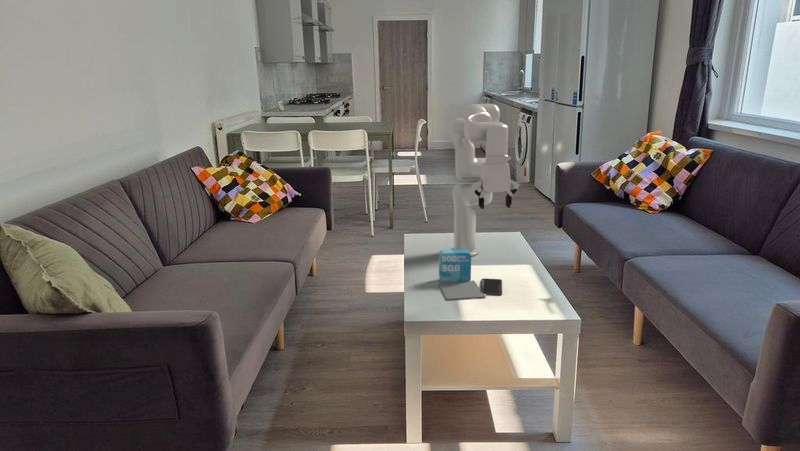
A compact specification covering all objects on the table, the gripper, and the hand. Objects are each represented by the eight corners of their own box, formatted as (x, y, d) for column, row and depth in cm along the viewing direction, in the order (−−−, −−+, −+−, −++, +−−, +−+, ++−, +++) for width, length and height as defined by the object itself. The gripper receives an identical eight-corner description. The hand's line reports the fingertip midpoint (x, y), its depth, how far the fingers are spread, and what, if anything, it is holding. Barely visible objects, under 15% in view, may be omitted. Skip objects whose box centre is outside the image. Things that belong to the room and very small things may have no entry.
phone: (480, 292, 198) (481, 278, 212) (480, 295, 198) (481, 281, 212) (502, 293, 196) (502, 279, 211) (502, 296, 197) (502, 281, 211)
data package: (439, 283, 210) (439, 253, 207) (438, 278, 214) (438, 249, 211) (470, 282, 210) (471, 252, 207) (469, 278, 214) (469, 249, 211)
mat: (438, 284, 208) (438, 282, 208) (474, 282, 210) (474, 280, 210) (446, 300, 193) (446, 298, 193) (485, 298, 195) (485, 296, 195)
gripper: (516, 157, 195) (514, 204, 200) (469, 159, 193) (468, 206, 198) (523, 160, 188) (521, 208, 192) (475, 162, 186) (474, 211, 190)
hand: (494, 207), depth 195 cm, fingers open, 9 cm apart
